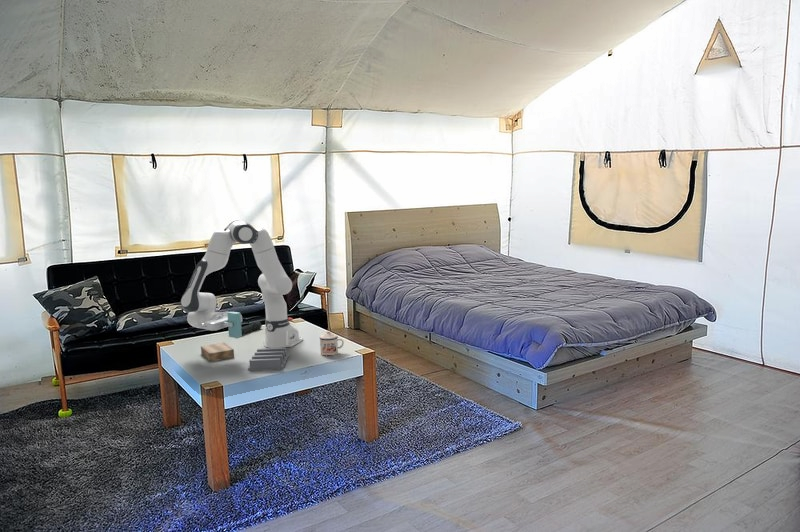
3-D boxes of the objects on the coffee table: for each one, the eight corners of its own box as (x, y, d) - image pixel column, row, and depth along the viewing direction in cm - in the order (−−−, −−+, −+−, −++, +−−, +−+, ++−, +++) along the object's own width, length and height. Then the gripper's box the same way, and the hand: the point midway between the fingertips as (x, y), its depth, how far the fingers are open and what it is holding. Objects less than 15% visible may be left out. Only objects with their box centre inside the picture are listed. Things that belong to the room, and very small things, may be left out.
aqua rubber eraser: (232, 335, 286) (231, 311, 284) (241, 336, 283) (240, 312, 281) (228, 336, 283) (227, 312, 282) (238, 338, 281) (236, 313, 279)
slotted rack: (256, 357, 290) (255, 348, 290) (288, 356, 291) (288, 347, 290) (247, 370, 271) (247, 360, 270) (282, 369, 271) (281, 359, 271)
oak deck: (224, 349, 306) (224, 342, 305) (234, 357, 292) (233, 349, 292) (201, 353, 299) (200, 346, 299) (209, 361, 286) (209, 353, 285)
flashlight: (262, 329, 350) (261, 321, 349) (239, 337, 331) (238, 329, 330) (255, 328, 352) (255, 320, 351) (232, 337, 333) (231, 328, 332)
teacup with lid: (320, 357, 289) (320, 334, 288) (319, 352, 298) (318, 329, 297) (345, 355, 292) (344, 332, 290) (342, 350, 301) (342, 328, 299)
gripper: (198, 319, 279) (219, 322, 272) (229, 310, 297) (250, 313, 290) (199, 332, 280) (220, 335, 273) (230, 322, 297) (250, 325, 291)
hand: (236, 323), depth 282 cm, fingers closed on aqua rubber eraser, 2 cm apart
